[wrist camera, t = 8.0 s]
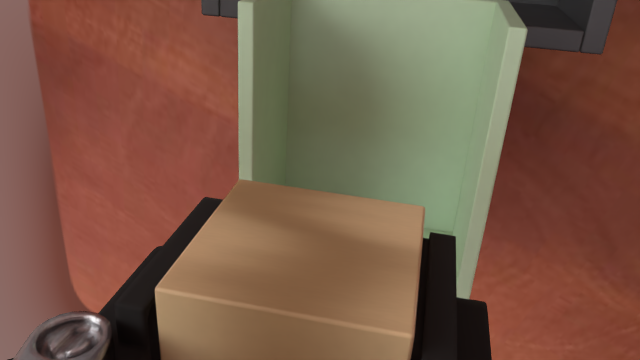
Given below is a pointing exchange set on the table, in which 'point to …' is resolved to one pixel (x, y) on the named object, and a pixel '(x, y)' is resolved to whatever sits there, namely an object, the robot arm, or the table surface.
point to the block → (295, 279)
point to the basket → (526, 22)
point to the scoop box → (382, 103)
